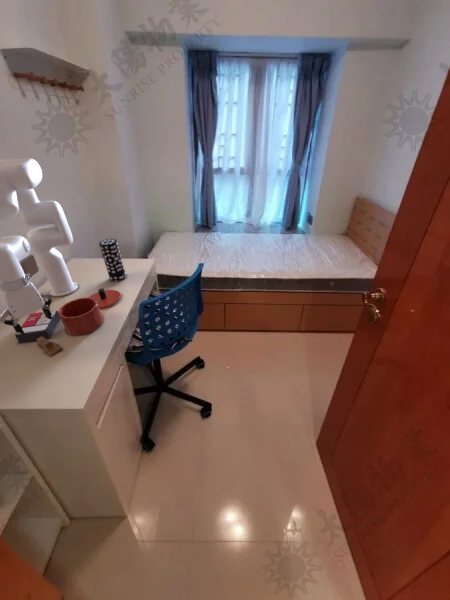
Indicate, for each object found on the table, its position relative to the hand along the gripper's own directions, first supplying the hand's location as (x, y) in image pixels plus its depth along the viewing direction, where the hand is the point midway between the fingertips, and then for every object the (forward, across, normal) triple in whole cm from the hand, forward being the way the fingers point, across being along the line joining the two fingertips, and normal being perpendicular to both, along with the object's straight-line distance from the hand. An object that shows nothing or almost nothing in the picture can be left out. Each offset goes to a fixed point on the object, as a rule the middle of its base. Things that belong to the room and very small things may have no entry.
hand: (35, 325), depth 99 cm
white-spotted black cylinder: (+10, -50, -21) cm, 55 cm away
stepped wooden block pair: (+10, 0, +1) cm, 11 cm away
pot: (+10, -16, 0) cm, 19 cm away
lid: (+10, -32, -9) cm, 34 cm away
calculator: (+11, -5, -14) cm, 18 cm away
